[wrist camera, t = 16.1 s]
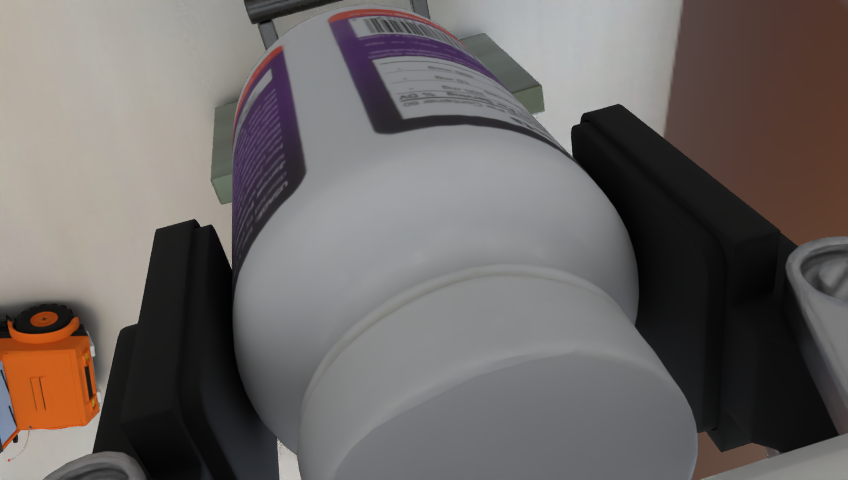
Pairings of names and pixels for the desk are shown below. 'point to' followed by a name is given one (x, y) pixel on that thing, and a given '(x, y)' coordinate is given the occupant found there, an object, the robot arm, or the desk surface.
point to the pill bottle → (433, 272)
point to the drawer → (271, 3)
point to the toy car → (45, 373)
